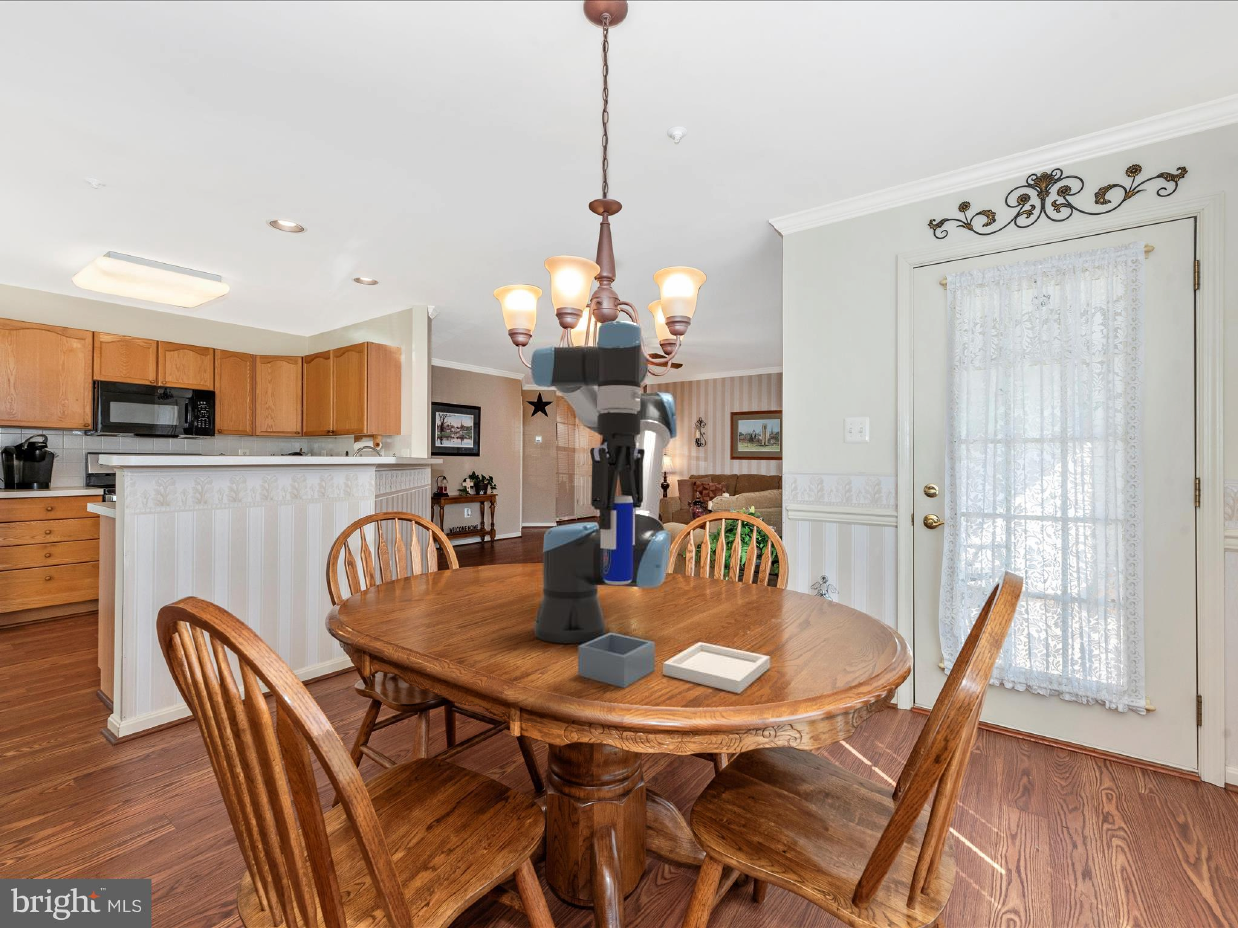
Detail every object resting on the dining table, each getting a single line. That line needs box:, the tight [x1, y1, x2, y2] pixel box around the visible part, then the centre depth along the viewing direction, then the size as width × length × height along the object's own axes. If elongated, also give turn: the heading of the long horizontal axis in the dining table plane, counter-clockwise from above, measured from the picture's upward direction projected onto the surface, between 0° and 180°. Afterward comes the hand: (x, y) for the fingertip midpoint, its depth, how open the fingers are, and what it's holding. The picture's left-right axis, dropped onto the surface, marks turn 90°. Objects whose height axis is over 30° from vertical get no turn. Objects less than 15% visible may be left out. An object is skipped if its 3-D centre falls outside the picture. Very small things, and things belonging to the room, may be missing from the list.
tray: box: [662, 641, 771, 695], centre depth 101 cm, size 14×14×2 cm
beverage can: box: [603, 494, 633, 585], centre depth 100 cm, size 5×5×15 cm
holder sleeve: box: [577, 632, 656, 689], centre depth 100 cm, size 10×10×5 cm
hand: (617, 545), depth 100 cm, fingers closed on beverage can, 5 cm apart
